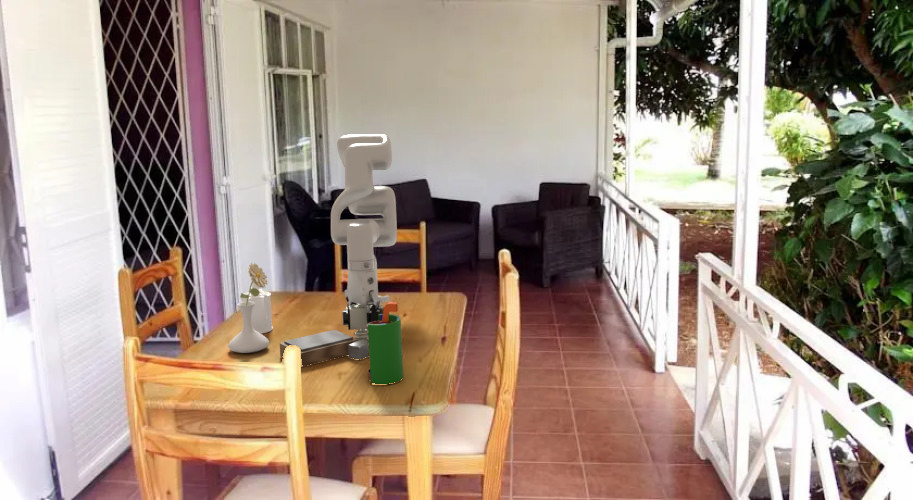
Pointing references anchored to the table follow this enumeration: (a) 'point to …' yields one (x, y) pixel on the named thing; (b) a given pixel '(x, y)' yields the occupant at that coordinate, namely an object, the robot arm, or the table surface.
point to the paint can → (260, 310)
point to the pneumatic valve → (357, 319)
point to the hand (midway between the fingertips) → (362, 322)
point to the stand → (320, 346)
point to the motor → (385, 347)
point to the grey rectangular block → (358, 349)
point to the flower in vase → (248, 336)
